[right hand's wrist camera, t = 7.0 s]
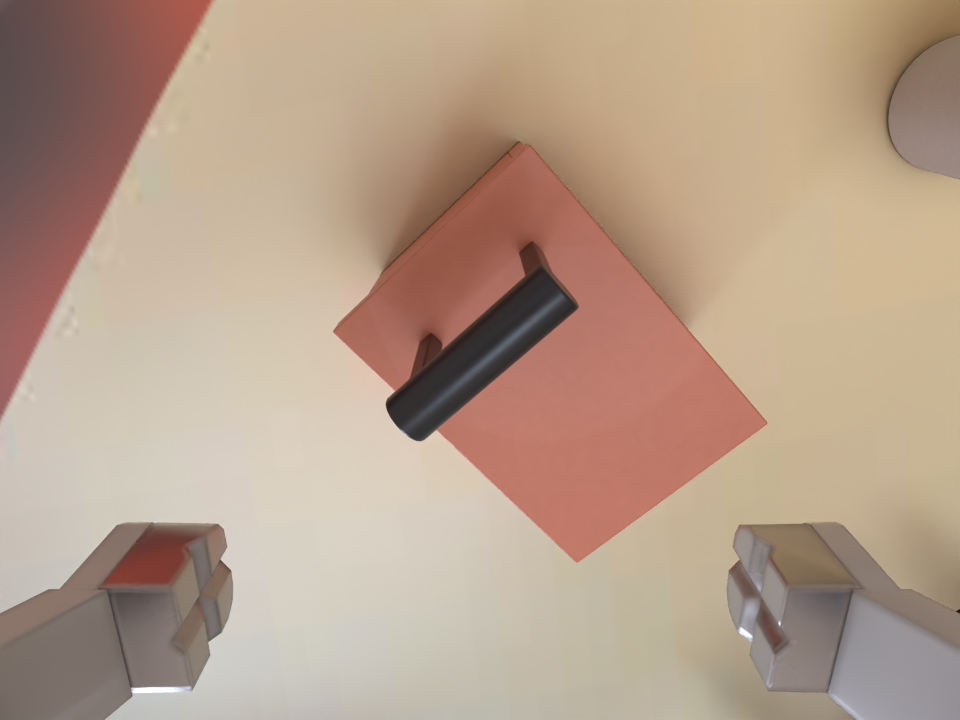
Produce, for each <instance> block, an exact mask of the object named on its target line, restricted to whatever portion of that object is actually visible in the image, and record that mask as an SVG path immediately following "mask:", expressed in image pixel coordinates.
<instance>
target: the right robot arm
mask: <svg viewBox="0 0 960 720" xmlns="http://www.w3.org/2000/svg"><path fill="white" fill-rule="evenodd" d="M226 548H227V543H226V538H225V533H224V529H223V528H222V527H221V526H220V525H219V524H198V523H152V522H142V523H123V524H119V525H117V526H116V527H115V528H114V529H113V530H112V531H111V532H110V533H109V535H108V536H107V537H106V538H105V539H104V540H103V541H102V542H101V543H100V545H99V546H98V547H97V548H96V549H95V550H94V551H93V552H92V553H91V555H90V556H89V557H88V558H87V559H86V560H85V561H84V562H83V563H82V565H81V566H80V567H79V568H78V569H77V570H76V571H75V572H74V573H73V575H72V576H71V577H70V578H69V579H68V580H67V581H66V582H65V584H64V585H63V586H62V587H61V588H60V589H49V590H47V591H45V592H43V593H41V594H39V595H37V596H35V597H33V598H31V599H29V600H27V601H25V602H23V603H21V604H18V605H16V606H14V607H12V608H10V609H8V610H6V611H4V612H2V613H0V720H105V719H106V718H107V717H108V716H109V715H111V714H112V713H113V712H114V711H115V710H116V709H118V708H119V707H120V706H121V705H122V704H124V703H125V702H126V701H127V700H128V699H130V698H131V697H132V693H145V692H180V691H192V690H193V688H194V686H195V684H196V682H197V680H198V678H199V676H200V674H201V673H202V671H203V669H204V667H205V665H206V663H207V661H208V659H209V657H210V650H209V645H208V642H209V641H210V640H212V639H213V638H215V637H216V636H217V635H219V634H220V633H222V631H223V629H224V627H225V624H226V622H227V620H228V618H229V614H230V609H231V605H232V600H233V580H232V573H231V570H230V569H229V568H228V567H227V566H226V565H225V564H224V563H223V562H222V561H221V560H220V559H221V557H222V555H223V554H224V552H225V550H226ZM733 548H734V550H735V552H736V554H737V555H738V557H739V559H740V560H739V561H738V562H737V563H736V564H735V565H734V566H733V567H732V568H731V569H730V570H729V574H728V582H727V597H728V607H729V610H730V614H731V617H732V620H733V622H734V625H735V627H736V629H737V631H738V633H740V634H741V635H743V636H744V637H745V638H747V639H748V640H750V641H751V642H752V645H751V650H750V657H751V659H752V661H753V663H754V665H755V667H756V669H757V670H758V672H759V674H760V676H761V678H762V680H763V682H764V684H765V686H766V688H767V690H768V691H779V692H814V693H828V695H827V696H828V697H830V698H831V699H832V700H833V701H834V702H835V703H837V704H838V705H839V706H840V707H841V708H843V709H844V710H845V711H846V712H847V713H849V714H850V715H851V716H852V717H853V718H855V719H856V720H960V614H959V613H957V612H955V611H953V610H951V609H949V608H947V607H945V606H943V605H941V604H939V603H937V602H935V601H933V600H931V599H929V598H927V597H925V596H923V595H921V594H919V593H917V592H915V591H913V590H911V589H900V588H899V587H898V586H897V585H896V584H895V582H894V581H893V580H892V579H891V578H890V577H889V576H888V575H887V574H886V572H885V571H884V570H883V569H882V568H881V567H880V566H879V565H878V564H877V562H876V561H875V560H874V559H873V558H872V557H871V556H870V555H869V553H868V552H867V551H866V550H865V549H864V548H863V547H862V546H861V545H860V543H859V542H858V541H857V540H856V539H855V538H854V537H853V536H852V535H851V533H850V532H849V531H848V530H847V529H846V528H845V527H844V526H843V525H841V524H839V523H836V522H822V523H803V524H757V525H739V526H738V529H737V531H736V533H735V537H734V542H733Z"/></svg>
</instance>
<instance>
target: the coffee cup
mask: <svg viewBox="0 0 960 720" xmlns="http://www.w3.org/2000/svg"><path fill="white" fill-rule="evenodd" d="M888 124H889V132H890V136H891V139H892V142H893V144H894V146H895V148H896V150H897V151H898V153H899V154H900V155H901V156H902V157H903V158H904V159H905V160H906V161H907V162H909V163H910V164H912V165H913V166H915V167H918V168H920V169H923V170H927V171H930V172H934V173H938V174H941V175H945V176H949V177H953V178H956V179H960V35H957V36H954V37H951V38H948V39H945V40H943V41H941V42H938V43H937V44H935V45H933V46H931V47H930V48H928V49H927V50H926V51H924V52H923V53H922V54H921V55H919V56H918V57H917V58H916V59H915V60H914V61H913V62H912V63H911V64H910V66H909V67H908V68H907V69H906V71H905V72H904V74H903V75H902V77H901V78H900V80H899V82H898V84H897V86H896V88H895V90H894V93H893V96H892V99H891V103H890V107H889V115H888Z"/></svg>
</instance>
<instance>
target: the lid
mask: <svg viewBox="0 0 960 720" xmlns="http://www.w3.org/2000/svg"><path fill="white" fill-rule="evenodd" d="M333 332H334V334H335V335H337V336H338V337H339V338H340V339H341V340H342V341H343V342H344V343H345V344H346V345H347V346H348V347H349V348H350V349H351V350H352V351H353V352H354V353H356V354H357V355H358V356H359V357H360V358H361V359H362V360H363V361H364V362H365V363H366V364H367V365H368V366H369V367H370V368H371V369H372V370H373V371H375V372H376V373H377V374H378V375H379V376H380V377H381V378H382V379H383V380H384V381H385V382H386V383H387V384H388V385H389V386H390V387H391V388H392V389H394V390H395V392H394V393H393V394H392V395H391V396H390V397H389V398H388V399H387V401H386V408H387V411H388V413H389V415H390V417H391V419H392V420H393V422H394V423H395V424H396V426H397V427H398V428H399V429H400V430H401V431H402V432H403V433H404V434H406V435H407V436H408V437H410V438H411V439H413V440H416V441H423V440H425V439H426V438H427V437H428V436H429V435H431V434H432V433H433V432H434V431H435V430H437V431H438V432H439V433H440V434H441V435H442V436H443V437H444V438H445V439H446V440H447V441H448V442H450V443H451V444H452V445H453V446H454V447H455V448H456V449H457V450H458V451H459V452H460V453H461V454H462V455H463V456H464V457H465V458H466V459H467V460H469V461H470V462H471V463H472V464H473V465H474V466H475V467H476V468H477V469H478V470H479V471H480V472H481V473H482V474H483V475H484V476H485V477H486V478H488V479H489V480H490V481H491V482H492V483H493V484H494V485H495V486H496V487H497V488H498V489H499V490H500V491H501V492H502V493H503V494H504V495H505V496H507V497H508V498H509V499H510V500H511V501H512V502H513V503H514V504H515V505H516V506H517V507H518V508H519V509H520V510H521V511H522V512H523V513H524V514H526V515H527V516H528V517H529V518H530V519H531V520H532V521H533V522H534V523H535V524H536V525H537V526H538V527H539V528H540V529H541V530H542V531H543V532H545V533H546V534H547V535H548V536H549V537H550V538H551V539H552V540H553V541H554V542H555V543H556V544H557V545H558V546H559V547H560V548H561V549H562V550H564V551H565V552H566V553H567V554H568V555H569V556H570V557H571V558H572V559H573V560H574V561H575V562H576V563H577V562H579V561H580V560H582V559H583V558H585V557H586V556H587V555H589V554H590V553H591V552H593V551H594V550H595V549H597V548H598V547H600V546H601V545H602V544H604V543H605V542H606V541H608V540H609V539H610V538H612V537H613V536H615V535H616V534H617V533H619V532H620V531H621V530H623V529H624V528H626V527H627V526H628V525H630V524H631V523H632V522H634V521H635V520H636V519H638V518H639V517H641V516H642V515H643V514H645V513H646V512H647V511H649V510H650V509H651V508H653V507H654V506H656V505H657V504H658V503H660V502H661V501H662V500H664V499H665V498H667V497H668V496H669V495H671V494H672V493H673V492H675V491H676V490H677V489H679V488H680V487H682V486H683V485H684V484H686V483H687V482H688V481H690V480H691V479H693V478H694V477H695V476H697V475H698V474H699V473H701V472H702V471H703V470H705V469H706V468H708V467H709V466H710V465H712V464H713V463H714V462H716V461H717V460H718V459H720V458H721V457H723V456H724V455H725V454H727V453H728V452H729V451H731V450H732V449H734V448H735V447H736V446H738V445H739V444H740V443H742V442H743V441H744V440H746V439H747V438H749V437H750V436H751V435H753V434H754V433H755V432H757V431H758V430H760V429H761V428H762V427H764V426H765V425H766V424H767V421H766V420H765V419H764V418H763V417H762V416H761V414H760V413H759V412H758V411H757V410H756V409H755V407H754V406H753V405H752V404H751V403H750V401H749V400H748V399H747V398H746V397H745V396H744V394H743V393H742V392H741V391H740V390H739V389H738V387H737V386H736V385H735V384H734V383H733V382H732V380H731V379H730V378H729V377H728V376H727V375H726V373H725V372H724V371H723V370H722V369H721V368H720V366H719V365H718V364H717V363H716V362H715V361H714V359H713V358H712V357H711V356H710V355H709V354H708V352H707V351H706V350H705V349H704V348H703V347H702V345H701V344H700V343H699V342H698V341H697V340H696V338H695V337H694V336H693V335H692V334H691V333H690V331H689V330H688V329H687V328H686V327H685V326H684V324H683V323H682V322H681V321H680V320H679V318H678V317H677V316H676V315H675V314H674V313H673V311H672V310H671V309H670V308H669V307H668V306H667V304H666V303H665V302H664V301H663V300H662V299H661V297H660V296H659V295H658V294H657V293H656V292H655V290H654V289H653V288H652V287H651V286H650V285H649V283H648V282H647V281H646V280H645V279H644V278H643V276H642V275H641V274H640V273H639V272H638V271H637V269H636V268H635V267H634V266H633V265H632V264H631V262H630V261H629V260H628V259H627V258H626V257H625V255H624V254H623V253H622V252H621V251H620V250H619V248H618V247H617V246H616V245H615V244H614V243H613V241H612V240H611V239H610V238H609V237H608V235H607V234H606V233H605V232H604V231H603V230H602V228H601V227H600V226H599V225H598V224H597V223H596V221H595V220H594V219H593V218H592V217H591V216H590V214H589V213H588V212H587V211H586V210H585V209H584V207H583V206H582V205H581V204H580V203H579V202H578V200H577V199H576V198H575V197H574V196H573V195H572V193H571V192H570V191H569V190H568V189H567V188H566V186H565V185H564V184H563V183H562V182H561V181H560V179H559V178H558V177H557V176H556V175H555V174H554V172H553V171H552V170H551V169H550V168H549V167H548V165H547V164H546V163H545V162H544V161H543V160H542V158H541V157H540V156H539V155H538V154H537V153H536V151H535V150H534V149H533V148H532V147H531V146H530V145H529V144H526V145H525V146H524V147H523V148H522V149H521V150H520V151H518V152H517V153H516V154H515V155H514V156H513V157H512V158H511V159H510V160H509V161H508V162H507V163H506V164H505V165H504V166H503V167H502V168H501V169H500V170H499V171H498V172H496V173H495V174H494V175H493V176H492V177H491V178H490V179H489V180H488V181H487V182H486V183H485V184H484V185H483V186H482V187H481V188H480V189H479V190H478V191H477V192H475V193H474V194H473V195H472V196H471V197H470V198H469V199H468V200H467V201H466V202H465V203H464V204H463V205H462V206H461V207H460V208H459V209H458V210H457V211H456V212H455V213H453V214H452V215H451V216H450V217H449V218H448V219H447V220H446V221H445V222H444V223H443V224H442V225H441V226H440V227H439V228H438V229H437V230H436V231H435V232H434V233H433V234H431V235H430V236H429V237H428V238H427V239H426V240H425V241H424V242H423V243H422V244H421V245H420V246H419V247H418V248H417V249H416V250H415V251H414V252H413V253H412V254H410V255H409V256H408V257H407V258H406V259H405V260H404V261H403V262H402V263H401V264H400V265H399V266H398V267H397V268H396V269H395V270H394V271H393V272H392V273H391V274H390V275H388V276H387V277H386V278H385V279H384V280H383V281H382V282H381V283H380V284H379V285H378V286H377V287H376V288H375V289H374V290H373V291H372V292H371V293H370V294H369V295H367V296H366V297H365V298H364V299H363V300H362V301H361V302H360V303H359V304H358V305H357V306H356V307H355V308H354V309H353V310H352V311H351V312H350V313H349V314H348V315H347V316H345V317H344V318H343V319H342V320H341V321H340V322H339V323H338V325H337V326H336V328H335V329H334V331H333Z"/></svg>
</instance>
